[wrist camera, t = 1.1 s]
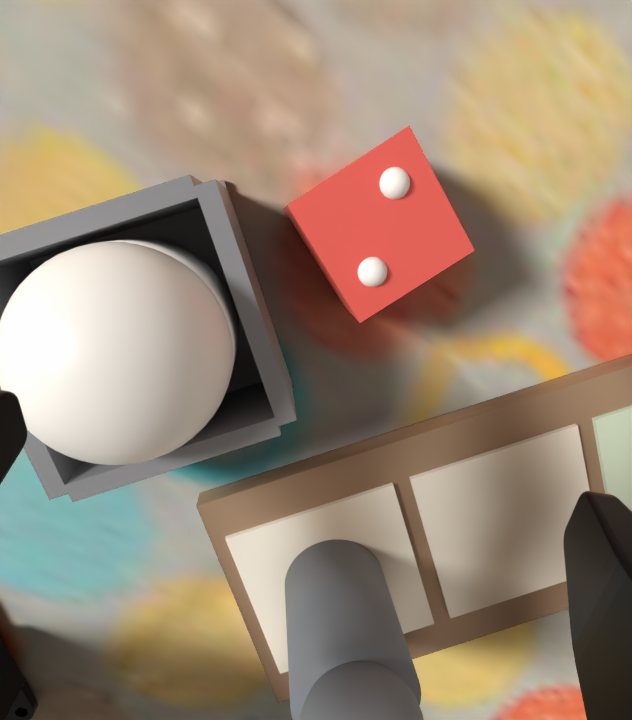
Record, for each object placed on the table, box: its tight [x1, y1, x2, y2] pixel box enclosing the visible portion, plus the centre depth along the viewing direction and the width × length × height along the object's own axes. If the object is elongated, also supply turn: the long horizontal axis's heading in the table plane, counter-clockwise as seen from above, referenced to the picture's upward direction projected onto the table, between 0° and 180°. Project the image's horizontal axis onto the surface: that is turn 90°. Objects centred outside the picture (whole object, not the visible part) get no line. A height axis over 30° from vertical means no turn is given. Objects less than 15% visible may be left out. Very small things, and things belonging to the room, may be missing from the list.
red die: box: [283, 126, 475, 323], centre depth 17 cm, size 4×4×4 cm
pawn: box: [285, 539, 424, 720], centre depth 18 cm, size 4×4×8 cm
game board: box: [197, 354, 632, 703], centre depth 22 cm, size 23×10×1 cm, turn 107°
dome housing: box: [0, 175, 297, 502], centre depth 17 cm, size 8×8×4 cm
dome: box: [0, 238, 239, 465], centre depth 15 cm, size 6×6×6 cm
